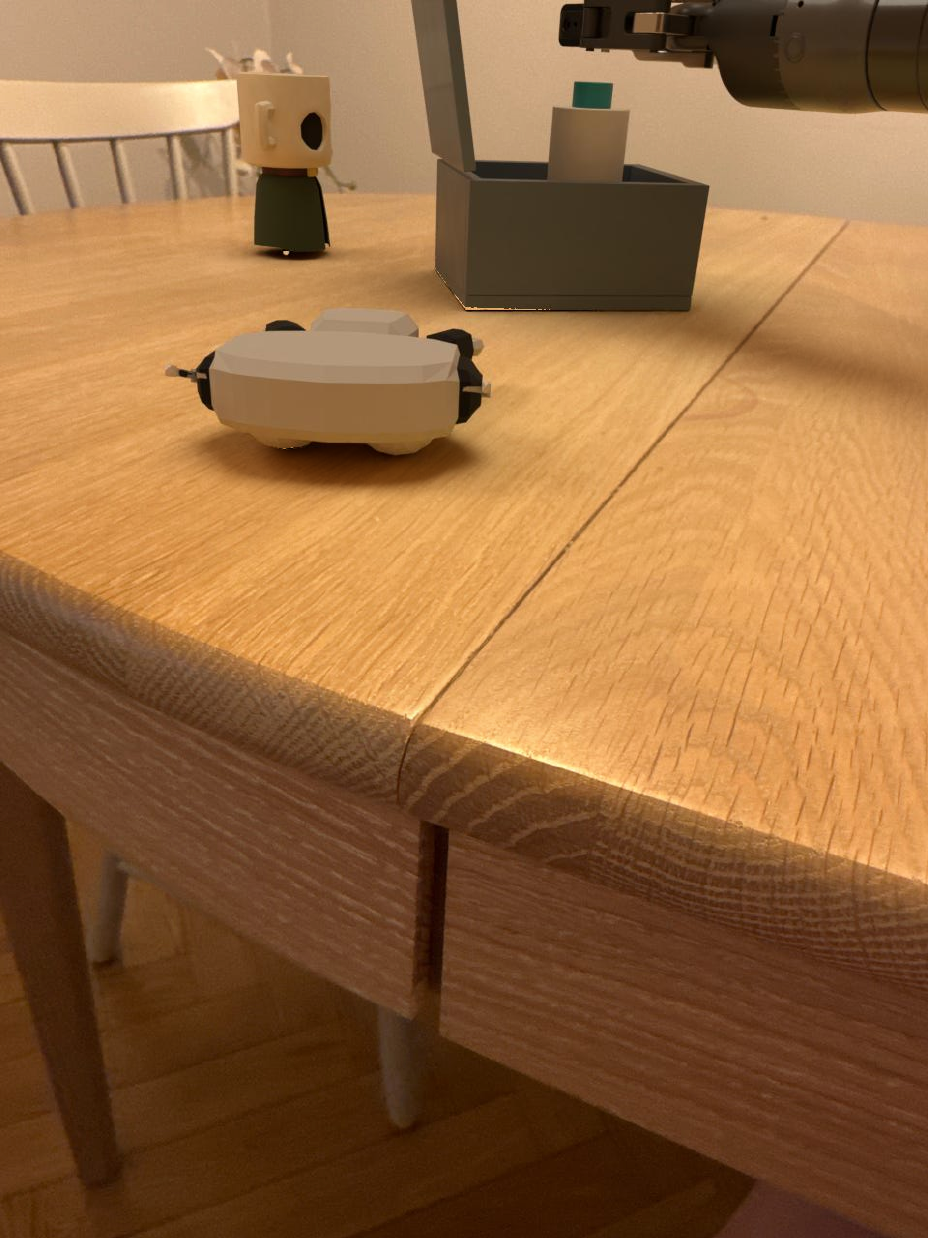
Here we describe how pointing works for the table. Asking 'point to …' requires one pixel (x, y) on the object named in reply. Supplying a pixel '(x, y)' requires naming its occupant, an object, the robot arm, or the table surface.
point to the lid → (444, 81)
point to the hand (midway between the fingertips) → (613, 29)
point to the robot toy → (343, 381)
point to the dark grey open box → (568, 238)
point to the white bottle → (588, 136)
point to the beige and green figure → (287, 155)
